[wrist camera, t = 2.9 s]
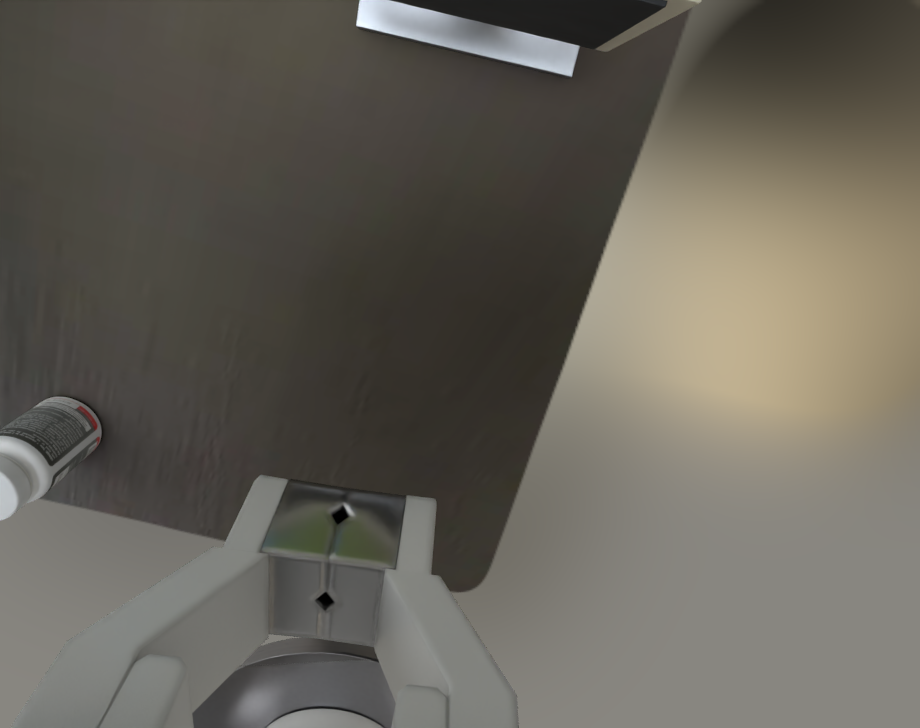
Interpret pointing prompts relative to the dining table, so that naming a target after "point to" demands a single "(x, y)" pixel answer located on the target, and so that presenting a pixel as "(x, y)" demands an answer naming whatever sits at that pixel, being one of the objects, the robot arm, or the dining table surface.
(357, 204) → the dining table surface
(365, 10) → the display stand
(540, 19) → the screen
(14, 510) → the pill bottle
